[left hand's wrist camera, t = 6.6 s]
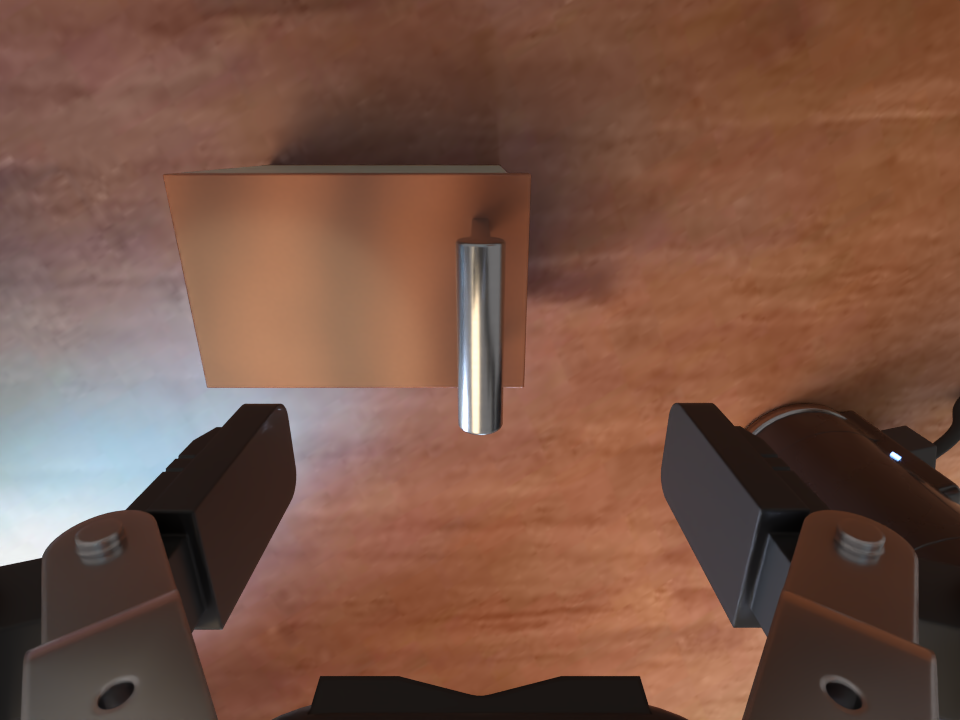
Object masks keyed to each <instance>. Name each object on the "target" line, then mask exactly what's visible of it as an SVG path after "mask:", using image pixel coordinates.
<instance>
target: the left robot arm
mask: <svg viewBox="0 0 960 720" xmlns="http://www.w3.org/2000/svg"><path fill="white" fill-rule="evenodd" d="M959 440H960V397H959V398H958V399H957V401H956V402H955V404H954V407H953V422H952V425H951V427H950V428H949V429H948V431H947V432H946V433H945V434H944V435H943V436H942V437H940V438H939V439H938V440H937V441H935V442H934V443H931V442H930V441H928V440H927V439H925V438H924V437H922V436H921V435H919V434H918V433H916V432H915V431H913V430H911V429H910V428H908V427H907V426H901V427H896V428H892V429H887V430H882V431H880V430H879V429H877V428H876V427H875V426H873V425H872V424H870V423H869V422H868V421H866V420H865V419H863V418H862V417H861V416H859V415H858V414H856V413H855V412H853V411H848V412H843V413H838V412H837V411H835V410H833V409H831V408H829V407H826V406H822V405H817V404H794V405H789V406H785V407H782V408H779V409H776V410H774V411H771V412H769V413H768V414H766V415H764V416H762V417H761V418H759V419H758V420H756V421H755V422H754V423H753V424H751V425H750V426H749V427H748V428H747V429H744V428H742V427H740V426H734V425H733V424H732V423H731V422H730V421H729V420H728V419H727V417H726V416H725V415H724V414H723V413H722V412H721V411H720V410H719V409H718V408H717V406H716V405H714V404H713V403H675V404H673V406H672V407H671V410H670V413H669V419H668V426H667V433H666V440H665V446H664V453H663V460H662V467H661V483H662V489H663V493H664V496H665V498H666V501H667V502H668V504H669V506H670V508H671V510H672V512H673V514H674V516H675V518H676V520H677V521H678V523H679V525H680V527H681V529H682V531H683V533H684V535H685V537H686V538H687V540H688V542H689V544H690V546H691V548H692V550H693V552H694V554H695V556H696V557H697V559H698V561H699V563H700V565H701V567H702V569H703V571H704V573H705V575H706V576H707V578H708V580H709V582H710V584H711V586H712V588H713V590H714V592H715V593H716V595H717V597H718V599H719V601H720V603H721V605H722V607H723V609H724V611H725V612H726V614H727V616H728V618H729V620H730V622H731V624H732V626H733V628H762V629H763V631H764V633H765V634H766V636H767V640H766V643H765V646H764V650H763V653H762V656H761V659H760V663H759V666H758V669H757V673H756V676H755V679H754V682H753V686H752V689H751V692H750V695H749V699H748V702H747V705H746V709H745V712H744V715H743V718H742V720H960V488H959V487H958V486H957V485H956V484H955V483H954V482H952V481H951V480H949V479H948V478H947V477H945V476H944V475H942V474H941V473H940V472H938V471H937V470H935V465H936V459H937V458H938V457H940V456H941V455H943V454H944V453H945V452H947V451H948V450H949V449H951V448H952V447H953V446H954V445H955V444H956V443H957V442H958V441H959ZM295 485H296V466H295V459H294V453H293V446H292V439H291V433H290V426H289V420H288V414H287V410H286V408H285V406H284V405H283V404H244V405H242V406H241V407H240V408H239V409H238V410H237V411H236V412H235V414H234V415H233V416H232V417H231V418H230V419H229V420H228V421H227V422H226V423H225V424H224V425H223V427H216V428H214V429H213V430H211V431H209V432H207V433H206V434H204V435H202V436H200V437H199V438H197V439H195V440H193V441H192V442H191V443H190V444H189V445H188V447H187V448H186V449H185V450H184V451H183V452H182V453H181V454H180V455H179V458H178V459H175V460H174V461H173V462H172V463H171V464H170V465H169V466H168V467H167V468H166V472H162V473H161V474H160V475H159V476H158V477H157V478H156V479H155V480H154V481H153V482H152V483H151V484H150V485H149V486H148V487H147V489H146V490H145V491H144V492H143V493H142V494H141V495H140V496H139V497H138V498H137V499H136V500H135V501H134V502H133V503H132V504H131V505H130V506H129V507H128V508H127V509H126V510H123V511H115V512H110V513H106V514H103V515H99V516H96V517H93V518H91V519H88V520H86V521H84V522H81V523H79V524H77V525H76V526H74V527H72V528H70V529H69V530H67V531H65V532H64V533H62V534H61V535H60V536H59V537H57V538H56V539H55V540H54V541H53V542H52V543H51V544H50V545H49V546H48V547H47V549H46V550H45V552H44V554H43V556H42V558H39V559H35V560H30V561H25V562H20V563H15V564H10V565H5V566H0V720H218V718H217V715H216V712H215V709H214V705H213V702H212V699H211V695H210V692H209V689H208V686H207V682H206V679H205V676H204V673H203V669H202V666H201V663H200V659H199V656H198V653H197V650H196V646H195V643H194V640H193V636H192V632H193V630H222V629H223V627H224V626H225V624H226V622H227V620H228V618H229V616H230V614H231V612H232V611H233V609H234V607H235V605H236V603H237V601H238V599H239V597H240V596H241V594H242V592H243V590H244V588H245V586H246V584H247V582H248V581H249V579H250V577H251V575H252V573H253V571H254V569H255V567H256V566H257V564H258V562H259V560H260V558H261V556H262V554H263V552H264V551H265V549H266V547H267V545H268V543H269V541H270V539H271V537H272V536H273V534H274V532H275V530H276V528H277V526H278V524H279V522H280V521H281V519H282V517H283V515H284V513H285V511H286V509H287V507H288V506H289V504H290V502H291V500H292V498H293V495H294V491H295ZM272 720H688V719H686V718H684V717H682V716H679V715H677V714H674V713H671V712H669V711H666V710H663V709H661V708H658V707H654V706H650V705H648V702H647V699H646V695H645V692H644V689H643V685H642V682H641V679H640V676H560V677H556V678H552V679H549V680H545V681H541V682H537V683H533V684H529V685H525V686H521V687H517V688H513V689H510V690H506V691H502V692H498V693H494V694H490V695H485V696H475V695H470V694H466V693H462V692H458V691H454V690H450V689H447V688H443V687H439V686H435V685H431V684H427V683H423V682H419V681H415V680H411V679H408V678H404V677H400V676H320V679H319V682H318V685H317V689H316V692H315V695H314V699H313V702H312V705H310V706H306V707H302V708H299V709H297V710H294V711H291V712H289V713H286V714H283V715H281V716H278V717H276V718H274V719H272Z"/></svg>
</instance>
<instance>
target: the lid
mask: <svg viewBox="0 0 960 720" xmlns="http://www.w3.org/2000/svg"><path fill="white" fill-rule="evenodd" d="M163 178H164V183H165V188H166V192H167V197H168V202H169V207H170V212H171V216H172V221H173V226H174V231H175V236H176V240H177V245H178V250H179V255H180V260H181V264H182V269H183V274H184V279H185V284H186V288H187V293H188V298H189V303H190V308H191V312H192V317H193V322H194V327H195V332H196V336H197V341H198V346H199V351H200V355H201V360H202V365H203V370H204V375H205V379H206V384H207V388H458V423H459V426H460V428H461V429H462V430H463V431H465V432H467V433H470V434H475V435H487V434H491V433H494V432H496V431H498V430H499V429H500V428H501V426H502V424H503V388H523V387H524V371H525V342H526V312H527V282H528V253H529V223H530V193H531V175H530V174H529V173H172V174H164V175H163Z"/></svg>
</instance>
